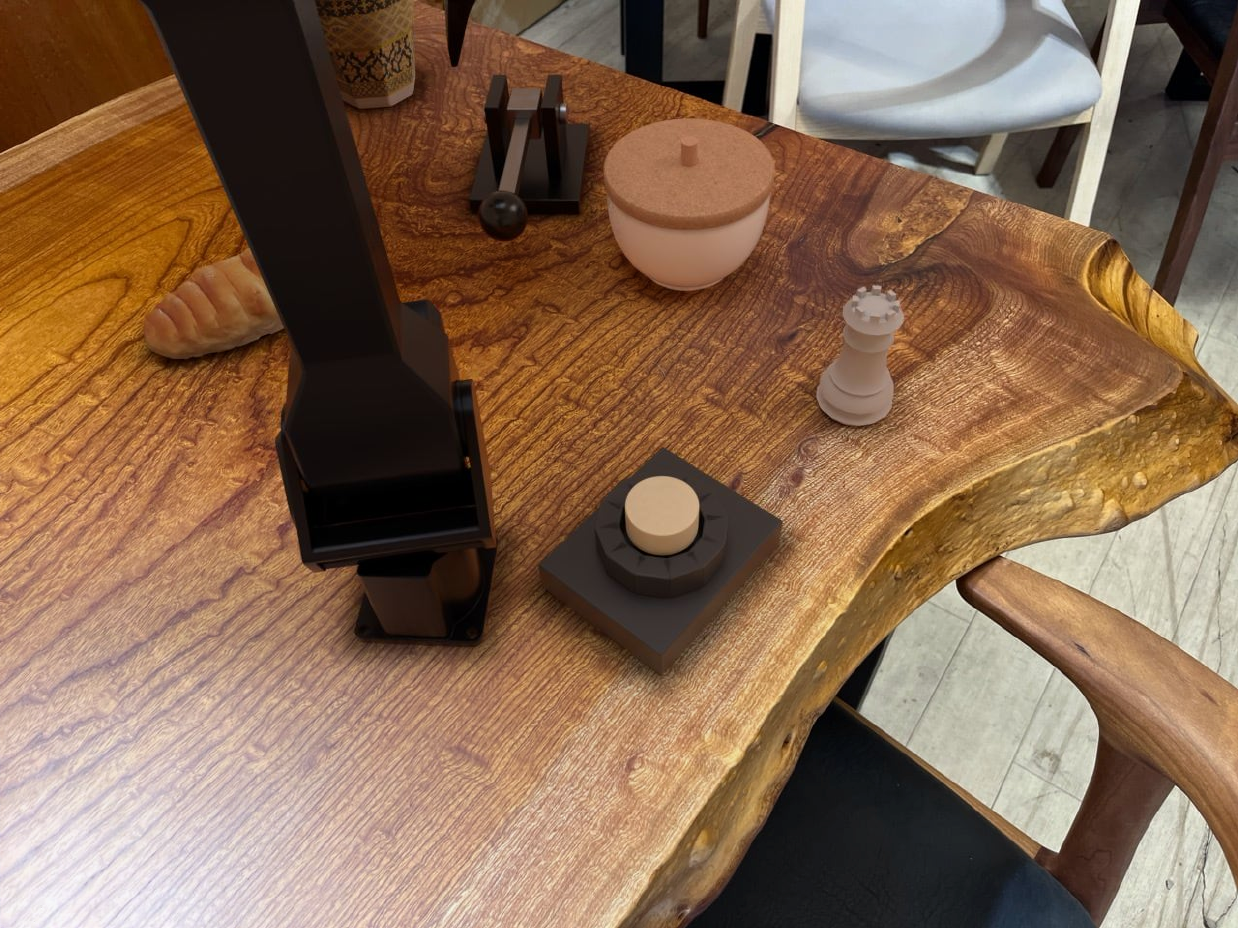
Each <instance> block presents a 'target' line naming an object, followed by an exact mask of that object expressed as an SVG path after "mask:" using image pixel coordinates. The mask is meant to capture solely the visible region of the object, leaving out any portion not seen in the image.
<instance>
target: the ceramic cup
mask: <svg viewBox="0 0 1238 928" xmlns="http://www.w3.org/2000/svg"><path fill="white" fill-rule="evenodd" d="M314 1H315V5H316V8H317V12H318V15H319V19H320V22H321V26H322V29H323V33H324V36H325V40H326V43H327V47H328V50H329V54H330V57H331V61H332V64H333V68H334V71H335V75H336V78H337V82H338V85H339V89H340V92H341V96H342V99H343V102H345V103H347V104H349V105H350V106H353V107H354V108H357V109H358V110H359V109H360V110H361V109H362V110H363V109H365V110H366V109H377V108H389V107H390V108H391V107H393V106H394V105H397V104H399V103H400V102H401V101H404V100H405V99H407V98H409V97H410V96H412V95H413V92H414V89H415V79H416V59H415V39H414V38H415V35H414V34H415V33H414V32H415V31H414V11H415V0H314Z"/></svg>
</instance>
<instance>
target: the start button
mask: <svg viewBox="0 0 1238 928" xmlns="http://www.w3.org/2000/svg"><path fill="white" fill-rule="evenodd" d="M625 520H626V531H627V534H628V537H629V539H630V540H631V541H632V543H633V544H634V545H635V546H636V547H638V548H639V549H641V550H642V551H644V552H646V553H649V554H653V555H661V556H662V555H671V554H675V553H678V552H680V551H682V550H684V549H685V548H687V547H688V546H689V545H690V544H691V543H692V542H693V541H694V539H695V537H696V535H697V532H698V523H699V500H698V497H697V495H696V493H695V492H694V490H693V489H692V488H691V487H690V486H689V485H688V484H686V483H685V482H683V481H681V480H679V479H676V478H673V477H668V476H656V477H651V478H648V479H645V480H643V481H641V482H639V483H638V484H636V485H635V486H634V487H633V488H632V489H631V490H630V492H629V493H628V495H627V498H626V501H625Z"/></svg>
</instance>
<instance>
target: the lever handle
mask: <svg viewBox="0 0 1238 928" xmlns="http://www.w3.org/2000/svg"><path fill="white" fill-rule="evenodd" d="M542 100H543V89H542V88H541V87H539V88H536V87H535V88H529V87H525V88H524V87H522V88H521V87H520V88H519V87H516V88H515V87H512V88H511V89H510V93H509V101H508V105H507V117H508V124H509V131H510V138H511V139H510V144H509V148H508V152H507V156H506V161H505V165H504V169H503V174H502V178H501V182H500V186H499V191H495V192H492V193H490V194H489V195H487V196H486V197H485V198H484V199H483V201H482V202H481V204H480V207H479V211H478V213H477V218H478V219H477V220H478V224H479V227H480V228H481V230H482V231H483V232H484V234H485V235H486V236H487V237H489V238H490V239H492V240H494V241H497V242H502V243H503V242H504V243H505V242H511V241H514V240H515V239H517V238H519V237H520V236H521V235H522V234H523V233H524V232H525V230H526V228H527V225H528V222H529V213H528V211H527V208H526V205H525V203H524V202H523V200H522V199H521V198H520V197H519V196H518V193H519V188H520V184H521V179H522V174H523V170H524V165H525V160H526V155H527V151H528V146H529V141H530V139H540V138H541V133H542V128H543V122H542V113H541V105H542Z"/></svg>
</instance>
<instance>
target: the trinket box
mask: <svg viewBox="0 0 1238 928" xmlns="http://www.w3.org/2000/svg"><path fill="white" fill-rule="evenodd" d="M775 171H776V166H775V161H774V158H773V156H772V153H771V152H770V151H769V149H768V147H767V146H766V145H765V144H764V143H763V142H762V141H761V140H760V139H758V138H757V137H756V136H755V135H754V134H752V133H751V132H749V131H747V130H745V129H743V128H741V127H738V126H736V125H732V124H730V123H727V122H724V121H723V122H722V121H718V120H713V119H707V118H693V117H692V118H690V117H689V118H673V119H666V120H661V121H657V122H652V123H648V124H646V125H643V126H641V127H639V128H636V129H634V130H632V131H630V132H629V133H627V134H626V135H624V136H623V137H621V138H620V139H619V140H617V141H616V142H615V143H614V145H612V147H611V149H610V150H609V151H608V153H607V155H606V157H605V159H604V162H603V185H604V188H605V192H606V204H607V213H608V217H609V223H610V226H611V230H612V233H613V236H614V238H615V242H616V243H617V245H618V247H619V249H620V250H621V252H622V254H623V256H624V257H625V258H626V259H627V260H628V262H629V263H630V264H631V265H632V266H633V267H634V268H635V269H636V270H638V271H639V272H640V273H641V274H643V275H644V276H646V277H648V279H650V280H651V281H652V282H653V283H655V284H657V285H659V286H661V287H664V288H665V289H669V290H674V291H682V292H688V291H690V292H692V291H700V290H704V289H707V288H710V287H712V286H714V285H716V284H718V283H719V282H721V281H723V280H724V279H725V278H726V277H728V276H730V275H731V274H733V273H734V272H735V271H736V270H737V269H740V268H741V266H742V265H743V264H744V263H745V262H746V261H747V260H748V258H749V257H750V256H751V254H752V253H753V251H754V250H755V248H756V247H757V245H758V243H759V241H760V239H761V236H762V235H763V231H764V229H765V228H764V227H765V225H766V221H767V218H768V213H769V208H770V202H771V193H772V190H773V186H774V182H775V173H776V172H775Z"/></svg>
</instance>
